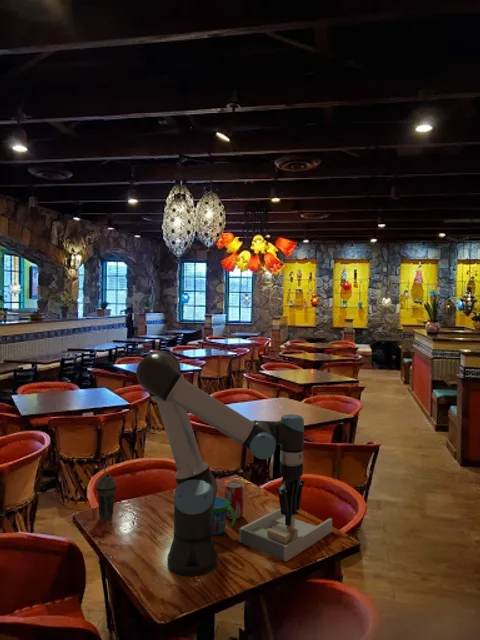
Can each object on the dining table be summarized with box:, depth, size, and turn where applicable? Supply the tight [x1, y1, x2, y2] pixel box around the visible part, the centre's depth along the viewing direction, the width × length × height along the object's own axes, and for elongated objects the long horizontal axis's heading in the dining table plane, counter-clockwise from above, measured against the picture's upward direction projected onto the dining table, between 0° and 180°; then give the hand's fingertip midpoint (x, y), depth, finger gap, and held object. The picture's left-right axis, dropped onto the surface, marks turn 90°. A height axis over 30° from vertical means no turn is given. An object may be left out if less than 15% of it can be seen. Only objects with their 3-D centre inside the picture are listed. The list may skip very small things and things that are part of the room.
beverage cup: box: [95, 464, 118, 522], centre depth 179 cm, size 7×7×20 cm
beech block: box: [267, 523, 298, 545], centre depth 158 cm, size 7×7×4 cm
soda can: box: [224, 481, 245, 520], centre depth 183 cm, size 7×7×12 cm
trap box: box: [238, 507, 333, 562], centre depth 168 cm, size 28×19×4 cm
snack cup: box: [212, 496, 236, 536], centre depth 171 cm, size 16×10×10 cm
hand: (289, 534), depth 162 cm, fingers closed
